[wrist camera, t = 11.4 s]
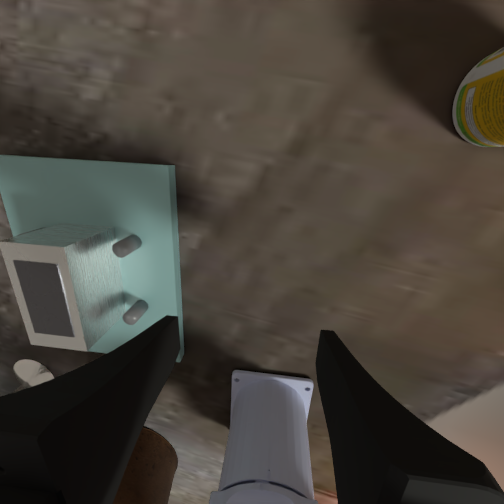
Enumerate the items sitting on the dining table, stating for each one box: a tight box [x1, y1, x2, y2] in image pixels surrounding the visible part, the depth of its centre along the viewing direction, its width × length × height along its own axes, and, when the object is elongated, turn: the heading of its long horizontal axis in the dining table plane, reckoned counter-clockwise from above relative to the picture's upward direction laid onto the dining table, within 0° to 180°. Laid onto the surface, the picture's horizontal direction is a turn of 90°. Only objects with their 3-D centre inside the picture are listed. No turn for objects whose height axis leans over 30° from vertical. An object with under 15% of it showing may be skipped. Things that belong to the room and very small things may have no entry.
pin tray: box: [0, 155, 184, 362], centre depth 21 cm, size 18×14×3 cm
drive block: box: [0, 223, 126, 351], centre depth 19 cm, size 8×4×5 cm, turn 177°
